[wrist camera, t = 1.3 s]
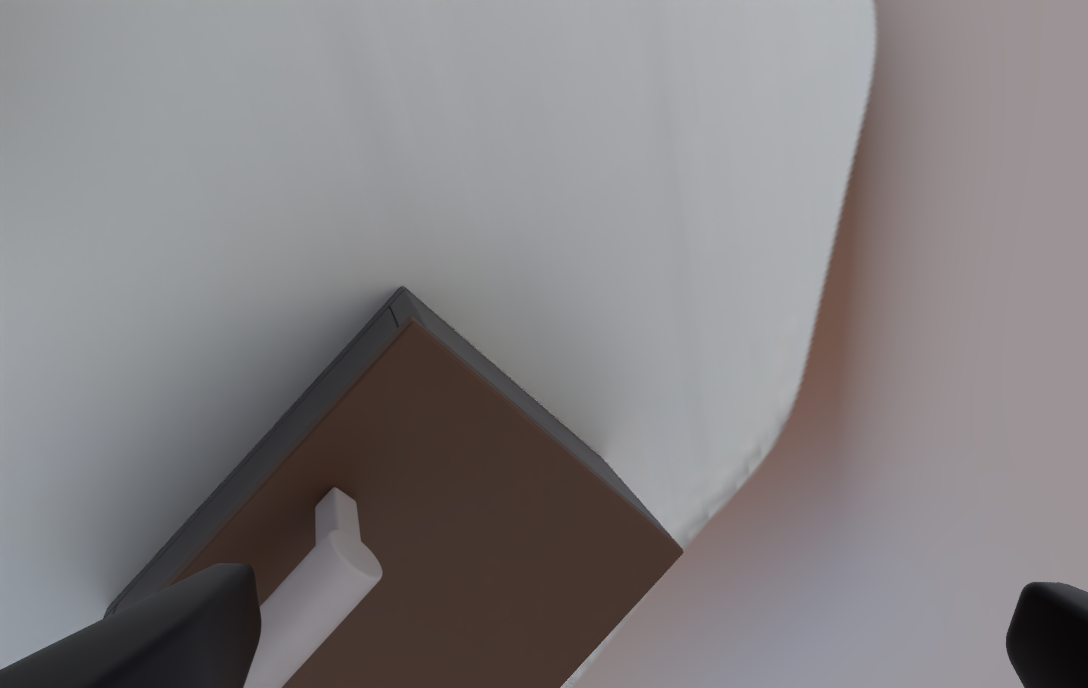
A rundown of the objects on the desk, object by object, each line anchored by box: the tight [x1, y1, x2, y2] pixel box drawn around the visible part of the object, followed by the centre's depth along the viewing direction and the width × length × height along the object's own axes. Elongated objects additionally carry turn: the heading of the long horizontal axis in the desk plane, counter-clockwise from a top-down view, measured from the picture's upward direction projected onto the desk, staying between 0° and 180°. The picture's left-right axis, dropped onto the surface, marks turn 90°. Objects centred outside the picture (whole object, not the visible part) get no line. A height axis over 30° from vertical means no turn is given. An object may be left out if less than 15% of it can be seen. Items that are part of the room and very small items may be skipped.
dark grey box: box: [103, 286, 671, 619], centre depth 23 cm, size 9×13×6 cm
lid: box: [156, 316, 683, 688], centre depth 18 cm, size 10×13×4 cm
